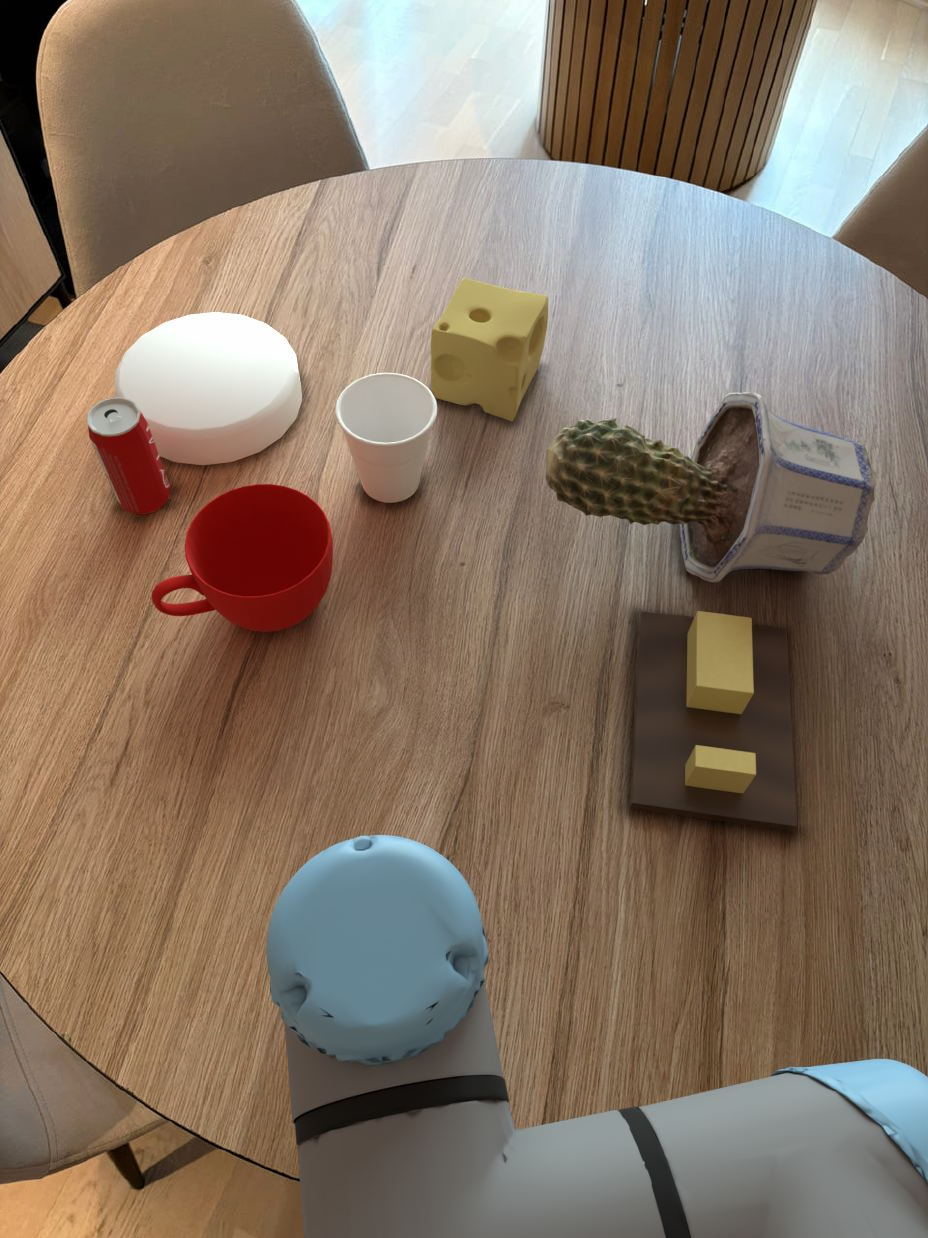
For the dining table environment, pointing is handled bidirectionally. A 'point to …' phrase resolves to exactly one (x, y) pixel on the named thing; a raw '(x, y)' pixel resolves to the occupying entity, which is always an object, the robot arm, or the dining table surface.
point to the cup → (387, 432)
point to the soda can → (128, 455)
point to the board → (710, 730)
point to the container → (212, 386)
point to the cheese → (488, 347)
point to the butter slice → (720, 769)
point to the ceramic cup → (255, 558)
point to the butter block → (719, 662)
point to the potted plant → (726, 488)
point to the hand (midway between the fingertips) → (405, 1089)
